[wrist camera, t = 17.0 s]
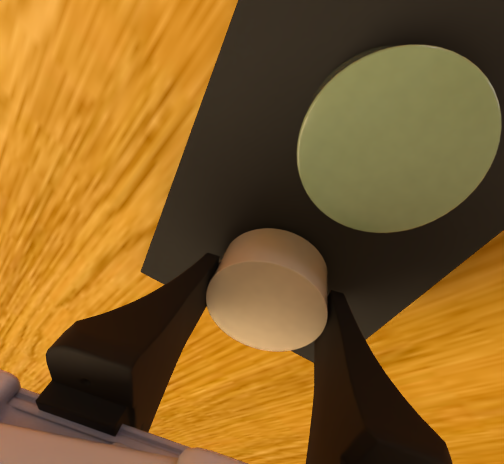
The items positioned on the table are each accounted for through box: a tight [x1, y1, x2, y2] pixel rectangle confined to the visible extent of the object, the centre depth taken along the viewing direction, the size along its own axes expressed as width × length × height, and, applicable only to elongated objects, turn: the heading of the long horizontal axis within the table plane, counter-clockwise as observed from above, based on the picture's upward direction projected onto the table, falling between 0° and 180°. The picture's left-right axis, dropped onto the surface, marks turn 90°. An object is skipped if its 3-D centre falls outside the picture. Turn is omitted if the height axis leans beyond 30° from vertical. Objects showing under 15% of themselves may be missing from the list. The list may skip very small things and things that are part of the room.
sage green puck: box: [296, 44, 501, 233], centre depth 10 cm, size 5×5×3 cm
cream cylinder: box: [206, 228, 328, 351], centre depth 14 cm, size 5×5×3 cm
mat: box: [141, 0, 504, 362], centre depth 13 cm, size 13×18×1 cm
